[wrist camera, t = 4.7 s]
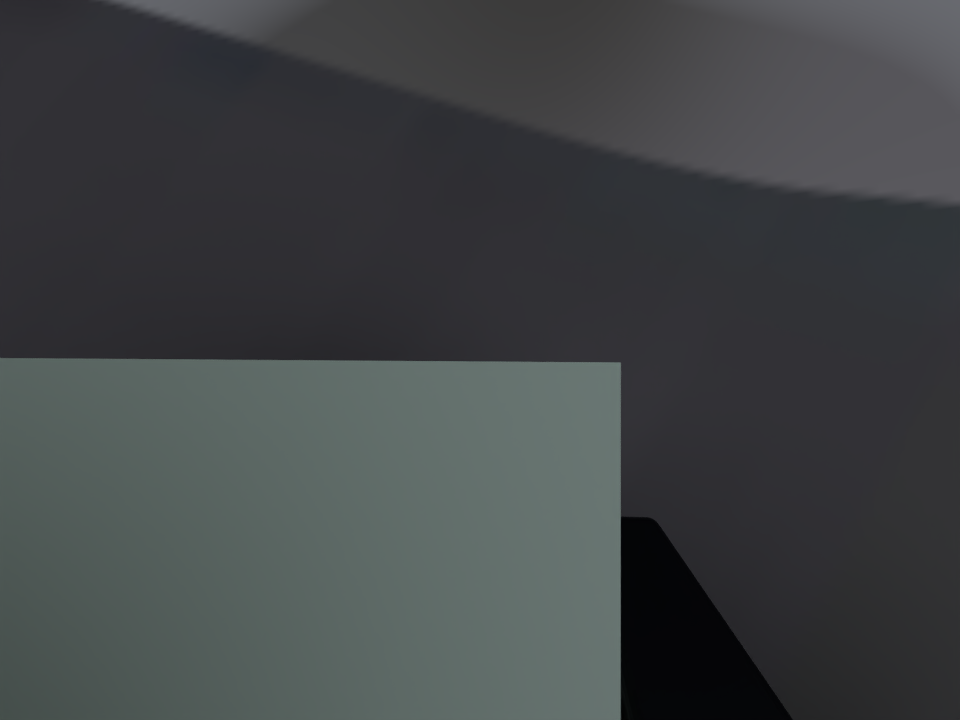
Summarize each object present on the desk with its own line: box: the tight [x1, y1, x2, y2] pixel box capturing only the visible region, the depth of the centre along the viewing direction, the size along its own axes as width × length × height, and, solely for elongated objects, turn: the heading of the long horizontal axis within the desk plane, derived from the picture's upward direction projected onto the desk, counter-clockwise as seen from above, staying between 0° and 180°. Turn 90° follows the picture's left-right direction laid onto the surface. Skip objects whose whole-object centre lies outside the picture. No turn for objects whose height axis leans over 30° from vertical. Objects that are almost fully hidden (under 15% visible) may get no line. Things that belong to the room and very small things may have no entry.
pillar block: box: [0, 358, 621, 720], centre depth 9 cm, size 4×4×11 cm
